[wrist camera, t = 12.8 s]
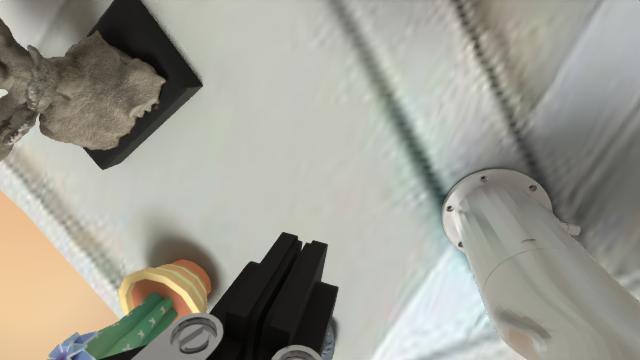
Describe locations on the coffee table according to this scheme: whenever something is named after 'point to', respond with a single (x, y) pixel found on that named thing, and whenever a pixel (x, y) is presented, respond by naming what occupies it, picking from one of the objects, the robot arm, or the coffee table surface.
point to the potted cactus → (143, 310)
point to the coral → (96, 86)
